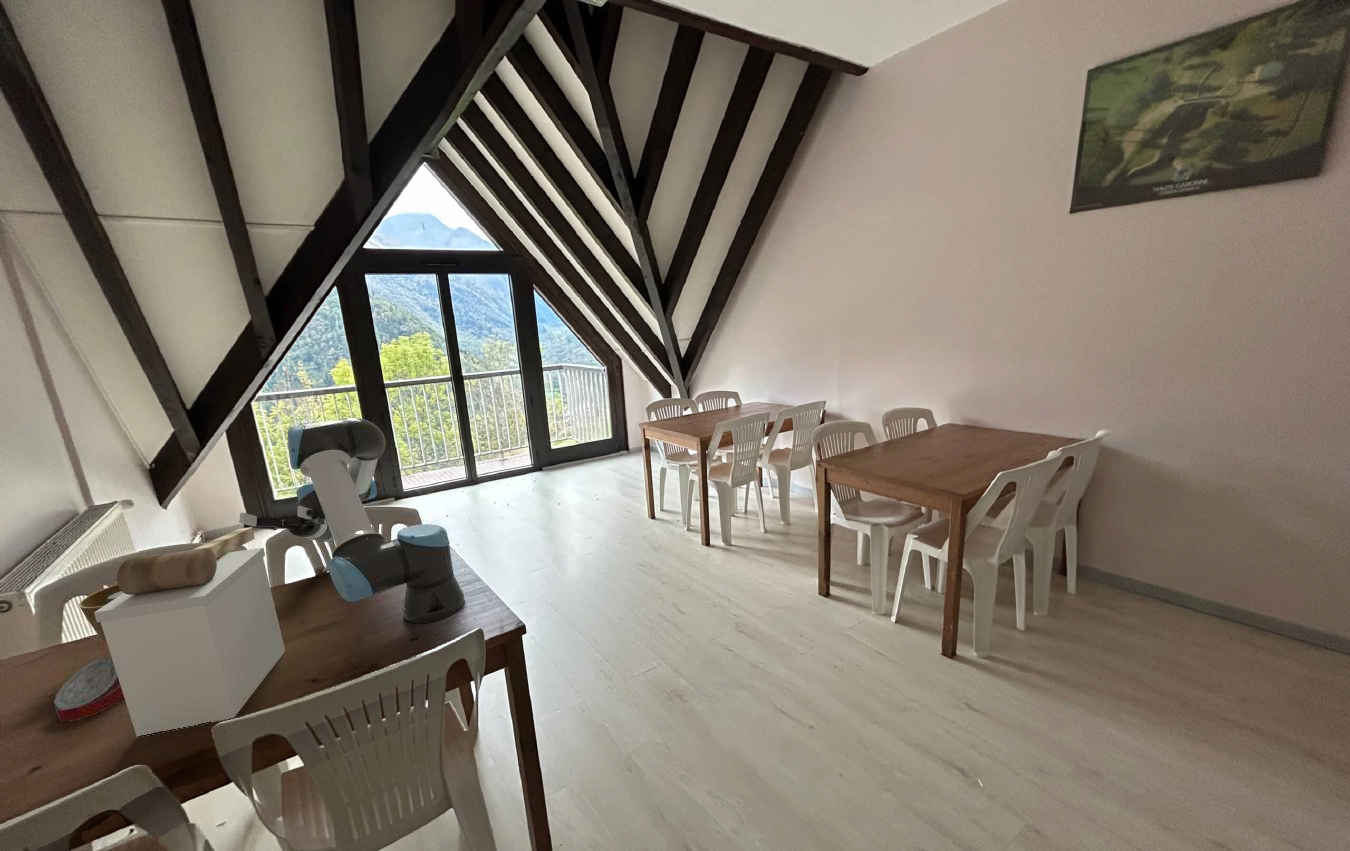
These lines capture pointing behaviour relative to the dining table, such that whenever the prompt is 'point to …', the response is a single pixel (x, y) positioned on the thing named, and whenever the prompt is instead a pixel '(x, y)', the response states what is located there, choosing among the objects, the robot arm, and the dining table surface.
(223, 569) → the pedestal
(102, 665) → the canned food
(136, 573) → the mallet
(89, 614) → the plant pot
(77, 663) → the dining table surface
